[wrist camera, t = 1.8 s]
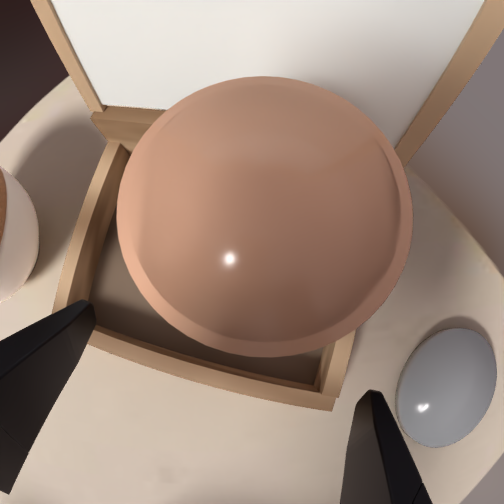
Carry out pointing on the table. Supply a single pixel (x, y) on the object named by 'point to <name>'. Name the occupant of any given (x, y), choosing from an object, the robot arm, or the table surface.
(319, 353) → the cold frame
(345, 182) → the tan cylindrical canister
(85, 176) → the table surface
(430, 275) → the table surface
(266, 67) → the lid
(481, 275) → the table surface
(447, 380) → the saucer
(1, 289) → the lidded jar
